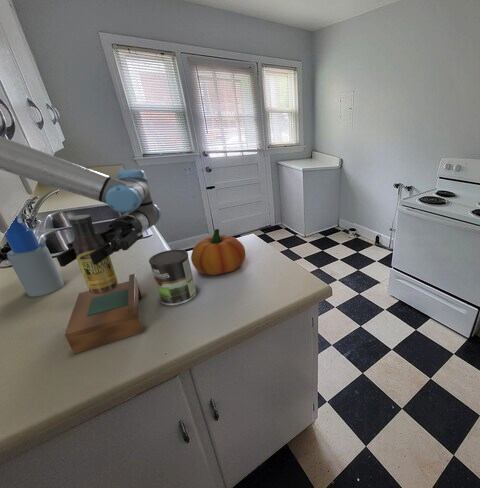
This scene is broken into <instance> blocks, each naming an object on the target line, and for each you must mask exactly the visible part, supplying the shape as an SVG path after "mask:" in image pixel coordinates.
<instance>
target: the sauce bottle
mask: <svg viewBox="0 0 480 488" xmlns="http://www.w3.org/2000/svg"><path fill="white" fill-rule="evenodd" d="M68 223H69V224H70V226H71V227H72V230H73V232H74V235H75V236H74V239H73V241H74V242H73V248H74V250H75V253H76V258H77V259H76V261H77V263H78V266H79V268H80V271H81V274H82V277H83V279H84V283H85V284H86V287H87V288H88V291H90V292H91V293H92V294H100V293H105V292H108V291H110V290H112V289H114V288H116V287H117V284H119V282H118V278H117V275H116V271H115V268H114V265H113V262H112V259H111V255H109V256H108V257H106V258H105V259H104V260H102V261H101V262H99V263H98V264H96V265H93V262H92V260H91V257H90V255H89V254H91V253H92V252H94V251H95V250H97V249H98V248H100V247H101V246H103V245H104V244H105V242H104V239H103V238H102V237H101V236H99V235H98V234H97V233H98V232H96V230H95V227H94V225H93V219H92V216H91V215H90V214H79V215H74V216H70V217H69V218H68Z"/></svg>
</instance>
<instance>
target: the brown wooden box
mask: <svg viewBox="0 0 480 488" xmlns="http://www.w3.org/2000/svg"><path fill="white" fill-rule="evenodd" d="M141 298H142V299H143V294H142V290H141V288H140V285H139V282H138V279H137V275H136V273H132V274H129V275H128V281H124V282H120V283H119V282H118V284H117V287H116V288H114V289H112V290H110V291H108V292H105V293H100V294H92V293H91V292H90V291H89V290H86V291H81V292H79V293H78V295H77V298H76V301H75V303H74V307H73V309H72V312H71V315H70V318H69V320H68V324H67V326H66V329H65V332H64V337H65V338H66V340H67V343H68V345H69V346H70V348H71V351H72V353H73V354H74V355H76V354H79V353H82V352H86V351H89V350H92V349H95V348H98V347H101V346H104V345H107V344H110V343H113V342H117V341H120V340H123V339H126V338H129V337H132V336H134V335H138V334H141V333H144V327H143V324H142V321H141V318H140V315H139V299H141Z"/></svg>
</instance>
